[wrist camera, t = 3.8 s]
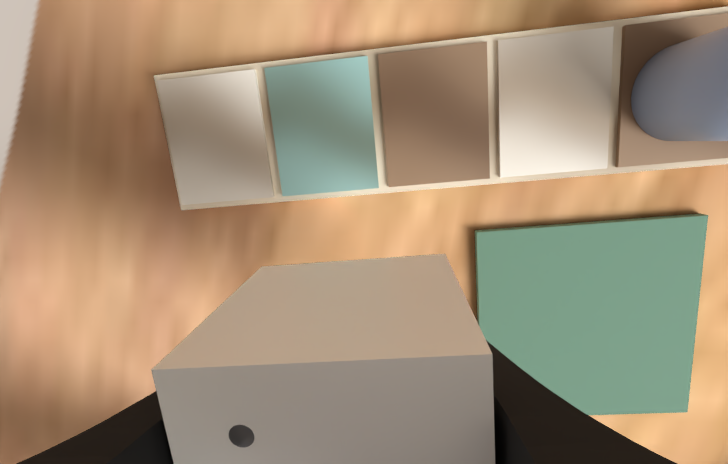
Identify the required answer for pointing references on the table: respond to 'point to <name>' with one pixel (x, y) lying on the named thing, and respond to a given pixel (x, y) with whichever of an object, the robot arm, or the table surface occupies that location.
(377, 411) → the die
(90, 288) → the table surface
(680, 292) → the mat
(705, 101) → the pawn
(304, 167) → the board
